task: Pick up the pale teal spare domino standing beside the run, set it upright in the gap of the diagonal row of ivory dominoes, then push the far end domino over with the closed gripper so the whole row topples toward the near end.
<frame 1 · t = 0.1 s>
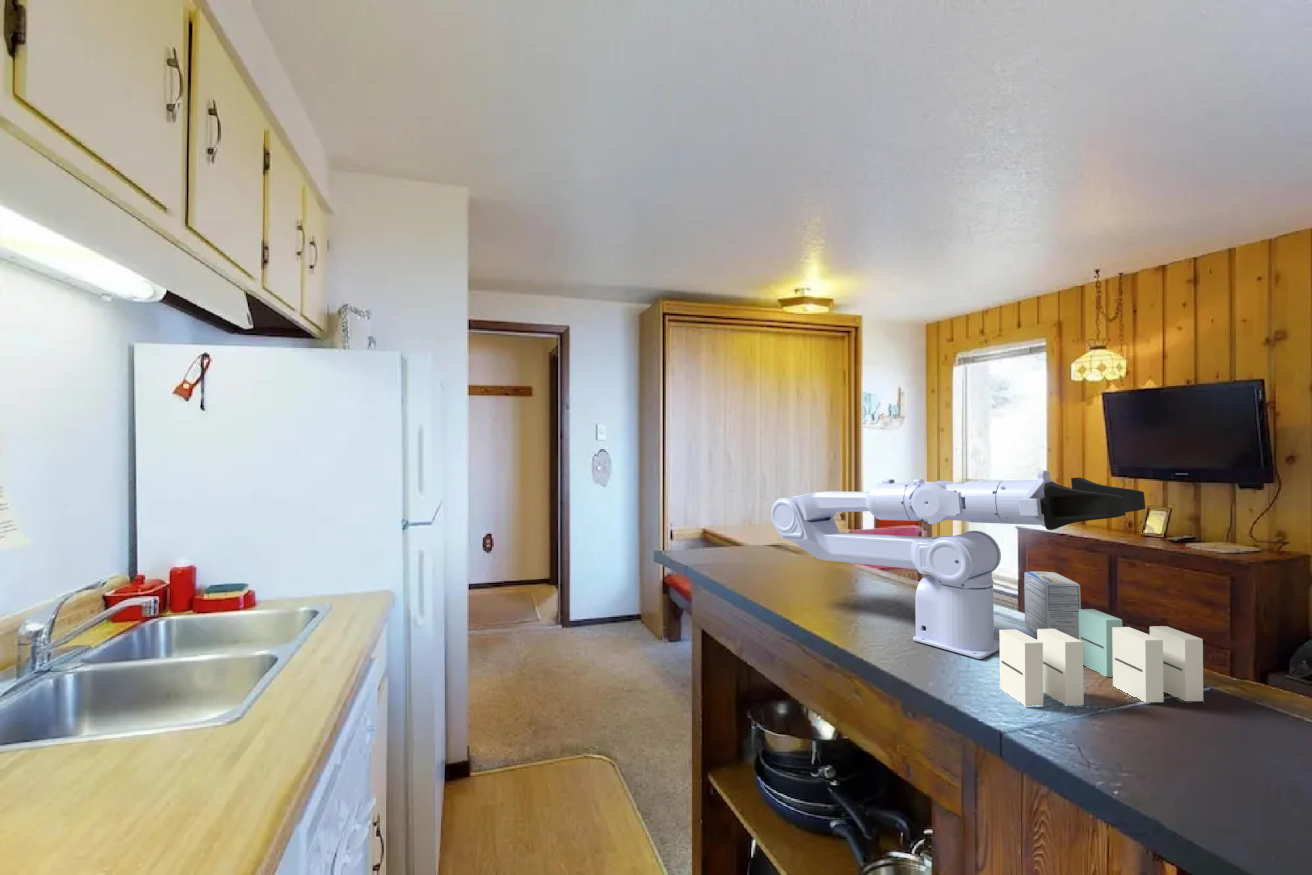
hand: (1134, 503, 67), 22 cm above the counter, tool horizontal, fingers open, 7 cm apart
spare domino: (1100, 670, 73), on the counter
domino 5: (1020, 698, 66), on the counter
domino 2: (1137, 695, 66), on the counter
domino 1: (1175, 694, 66), on the counter
domino 4: (1059, 697, 66), on the counter
medicine box: (1051, 637, 86), on the counter
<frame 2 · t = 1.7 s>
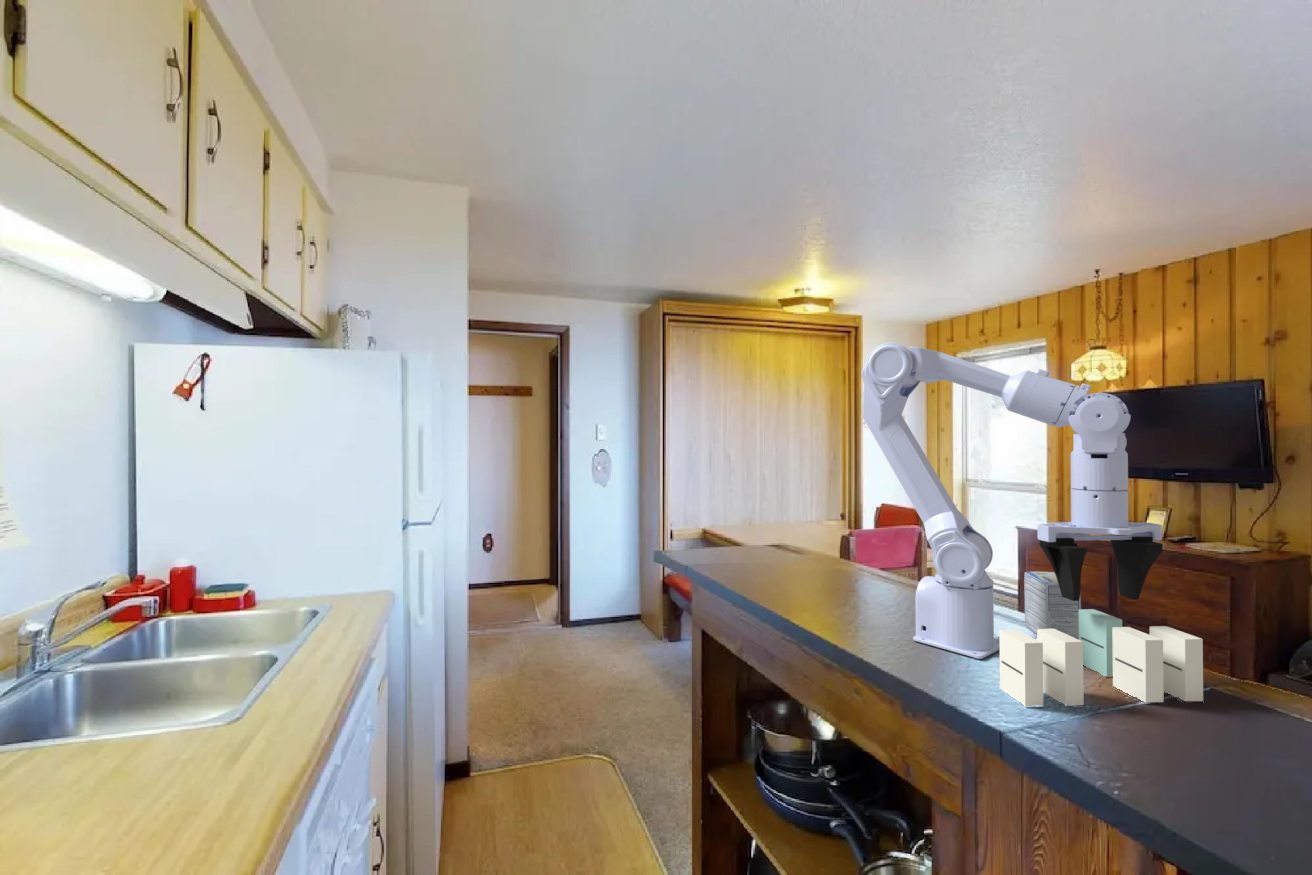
hand: (1099, 598, 73), 9 cm above the counter, tool pointing down, fingers open, 7 cm apart
nothing on the counter moved.
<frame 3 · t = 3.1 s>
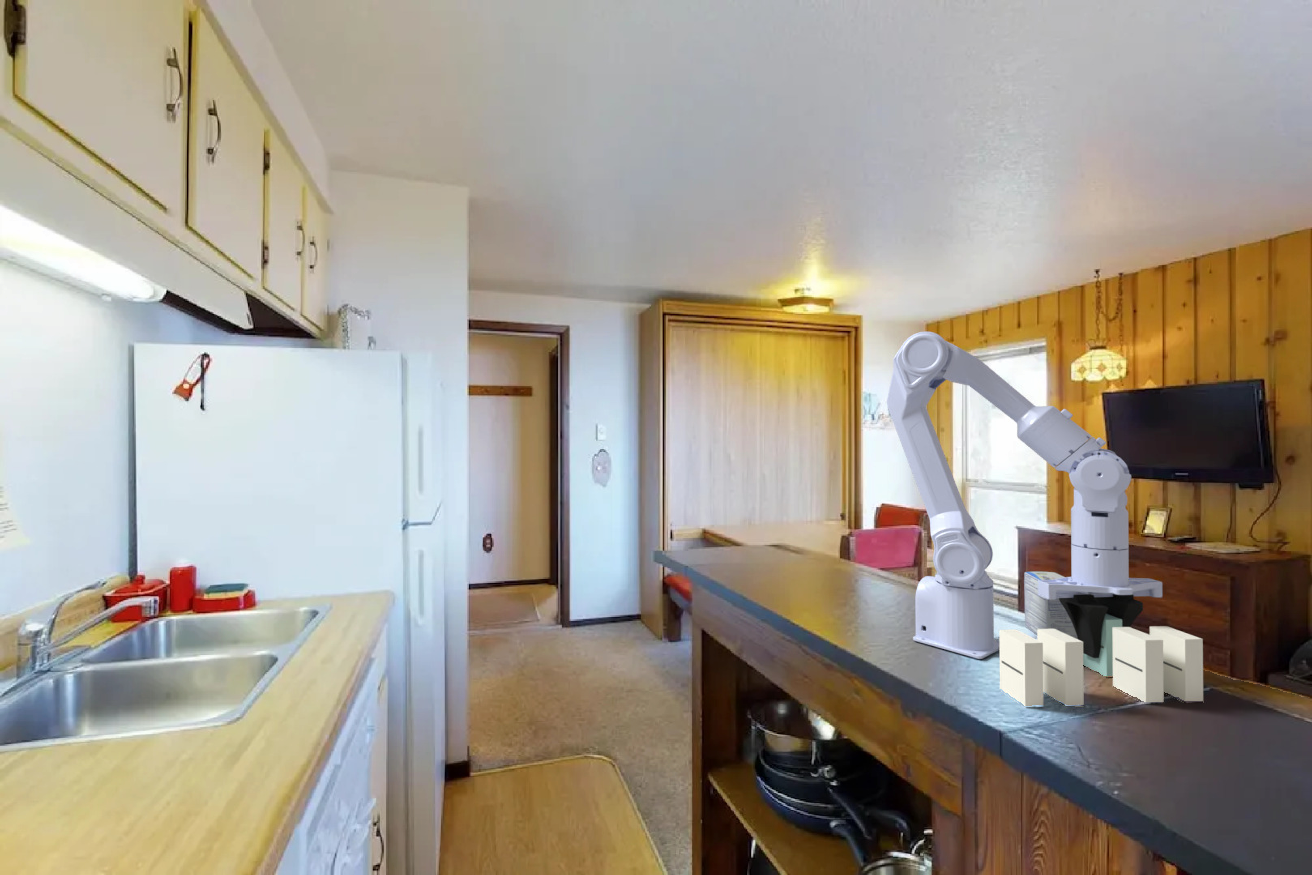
hand: (1100, 654, 73), 2 cm above the counter, tool pointing down, fingers closed on spare domino, 2 cm apart
spare domino: (1100, 670, 73), on the counter, touching gripper
everything else where it was.
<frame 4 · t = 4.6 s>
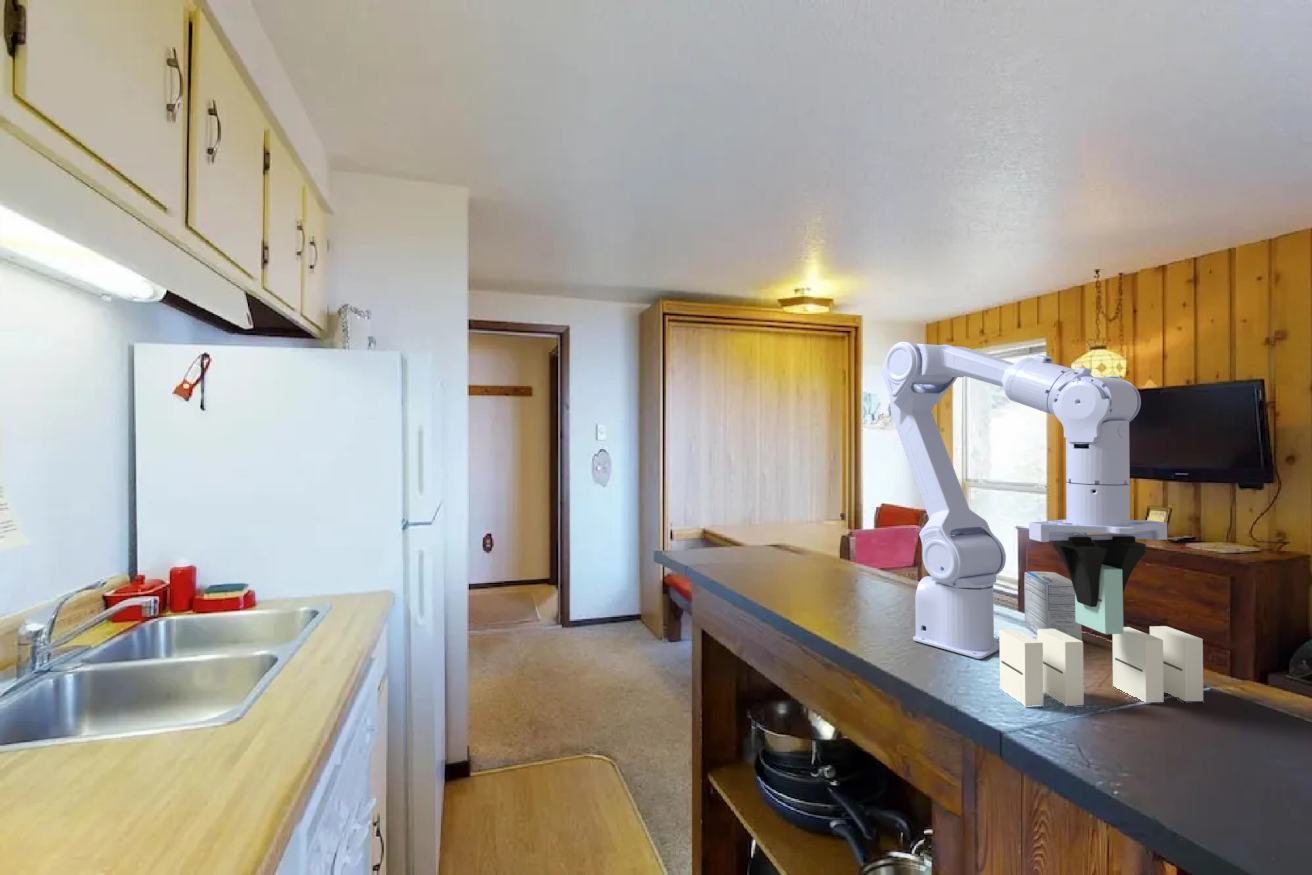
hand: (1098, 604, 66), 10 cm above the counter, tool pointing down, fingers closed on spare domino
spare domino: (1098, 627, 66), point 8 cm above the counter, touching gripper
everything else where it was.
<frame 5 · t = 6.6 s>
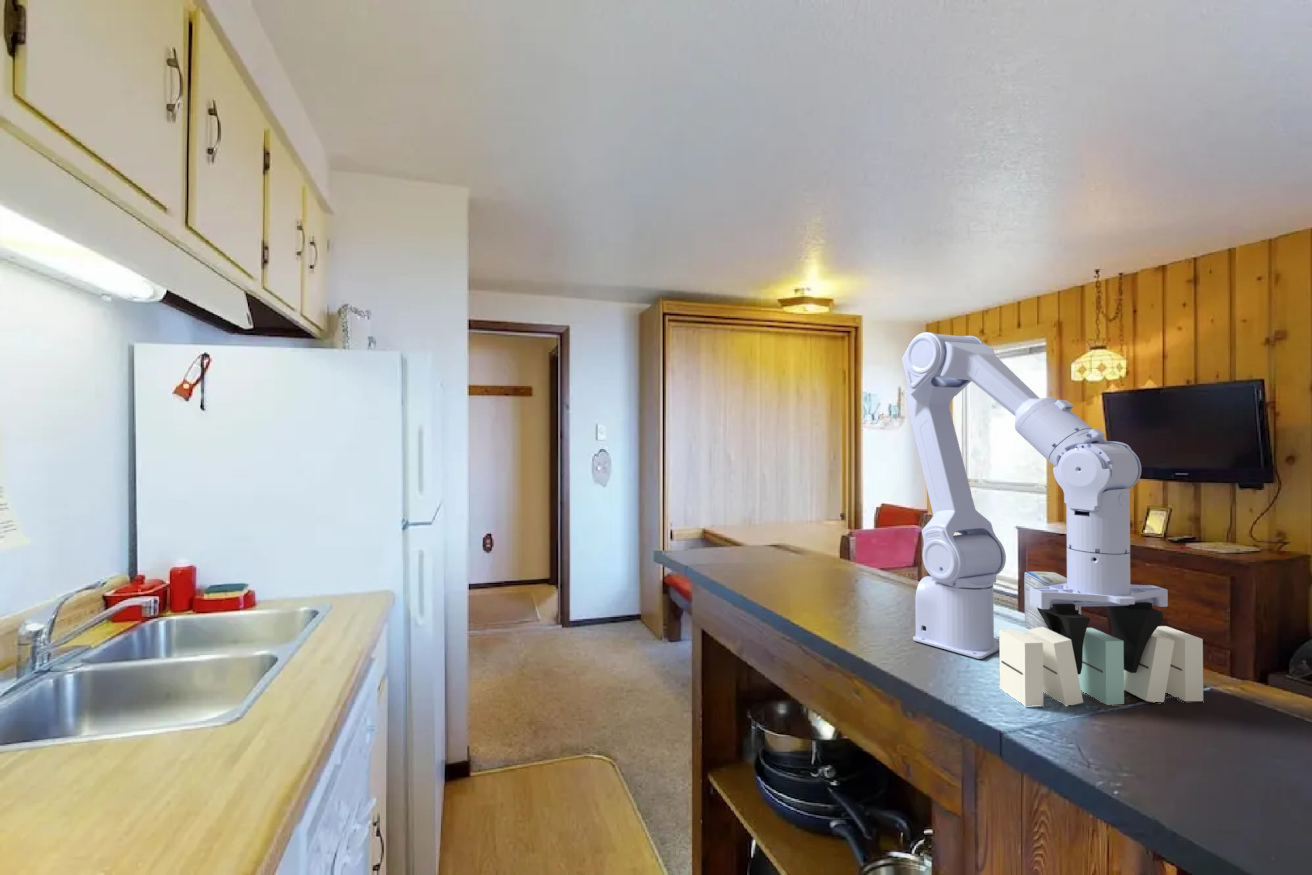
hand: (1098, 670, 66), 3 cm above the counter, tool pointing down, fingers open, 6 cm apart
spare domino: (1099, 696, 66), on the counter
domino 2: (1137, 693, 66), on the counter, tilted 11°
domino 4: (1059, 695, 66), on the counter, tilted 11°
everything else where it was.
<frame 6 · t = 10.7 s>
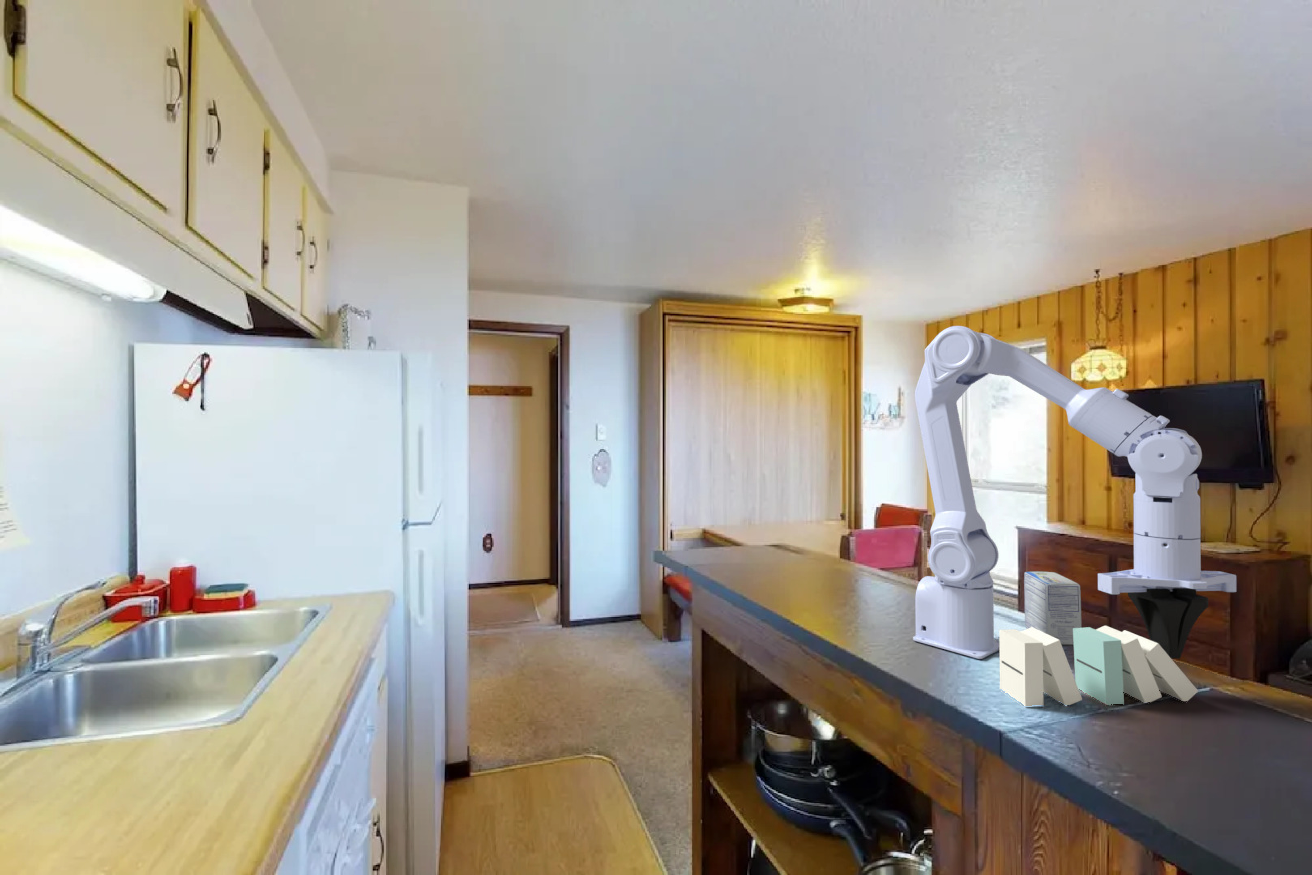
hand: (1166, 655, 66), 4 cm above the counter, tool pointing down, fingers closed
domino 2: (1136, 691, 66), on the counter, tilted 23°, touching domino 1
domino 1: (1173, 688, 66), point 1 cm above the counter, tilted 40°, touching domino 2
domino 4: (1059, 694, 66), on the counter, tilted 21°
everything else where it was.
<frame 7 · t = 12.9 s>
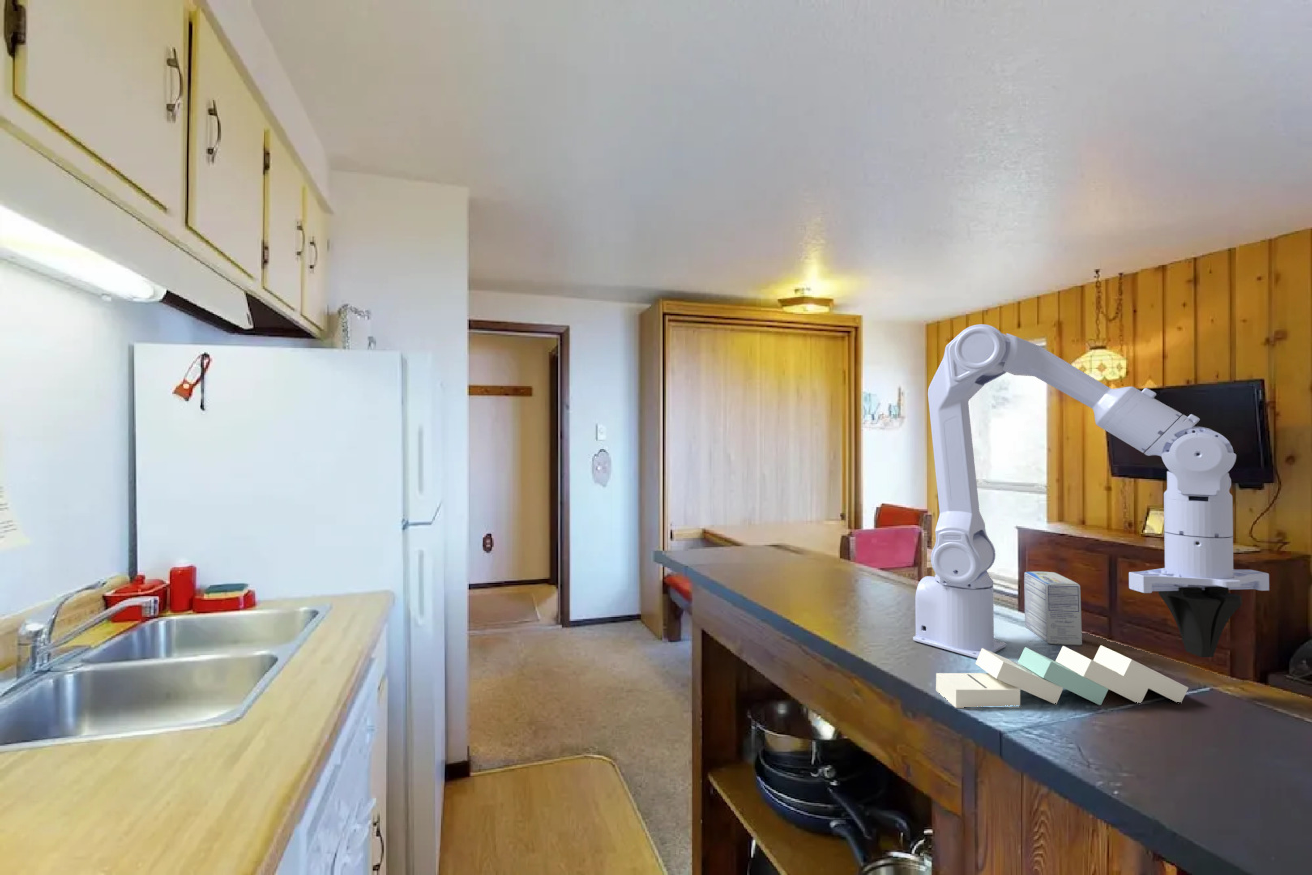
hand: (1199, 654, 66), 5 cm above the counter, tool pointing down, fingers closed
spare domino: (1089, 688, 66), point 1 cm above the counter, tilted 64°, touching domino 2, domino 4
domino 5: (1007, 689, 66), point 1 cm above the counter, tilted 89°, touching domino 4
domino 2: (1127, 687, 66), point 1 cm above the counter, tilted 63°, touching domino 1, spare domino
domino 1: (1166, 687, 66), point 1 cm above the counter, tilted 63°, touching domino 2
domino 4: (1046, 687, 66), point 1 cm above the counter, tilted 66°, touching domino 5, spare domino
everything else where it was.
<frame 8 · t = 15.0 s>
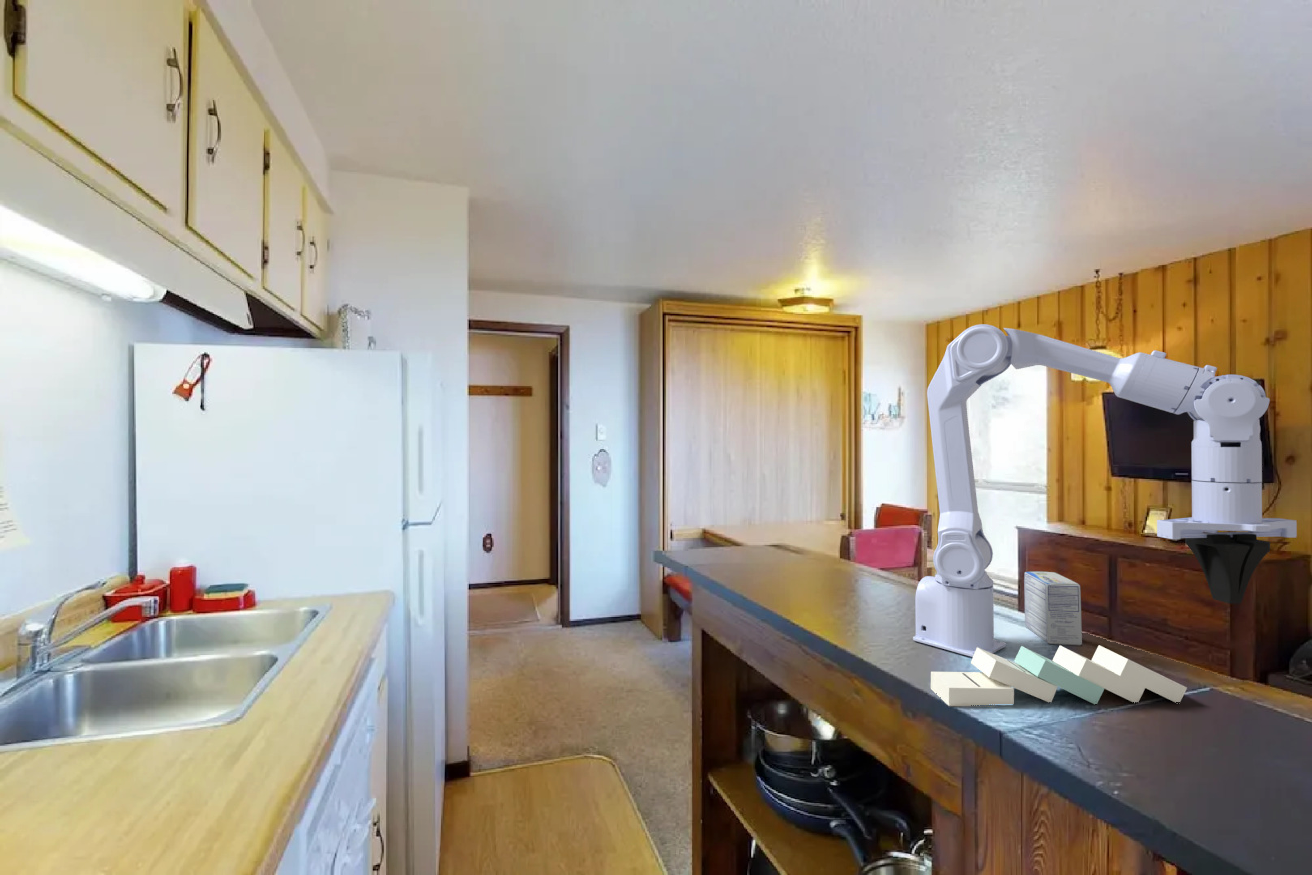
hand: (1226, 601, 66), 10 cm above the counter, tool pointing down, fingers closed
at the end: domino 5 tilted 89°; spare domino tilted 64°; spare domino inside the target area (1.2 cm from its centre), point 0.9 cm above the counter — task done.
